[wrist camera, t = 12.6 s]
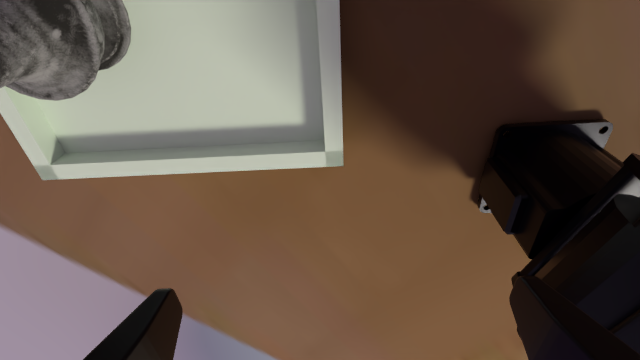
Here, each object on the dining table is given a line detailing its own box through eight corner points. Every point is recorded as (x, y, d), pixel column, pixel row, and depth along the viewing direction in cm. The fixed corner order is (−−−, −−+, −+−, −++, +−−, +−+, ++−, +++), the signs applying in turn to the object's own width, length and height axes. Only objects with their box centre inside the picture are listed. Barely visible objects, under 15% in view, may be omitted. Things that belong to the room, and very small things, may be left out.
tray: (331, -237, 12) (333, -266, 11) (341, 148, 21) (343, 166, 20) (-139, -194, 13) (-206, -215, 11) (63, 162, 22) (42, 180, 20)
